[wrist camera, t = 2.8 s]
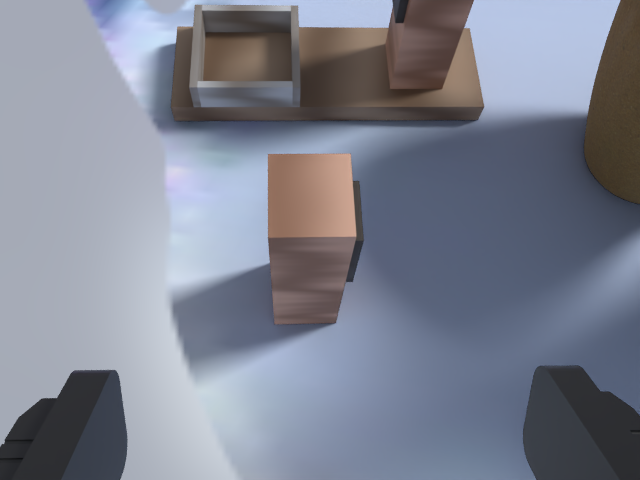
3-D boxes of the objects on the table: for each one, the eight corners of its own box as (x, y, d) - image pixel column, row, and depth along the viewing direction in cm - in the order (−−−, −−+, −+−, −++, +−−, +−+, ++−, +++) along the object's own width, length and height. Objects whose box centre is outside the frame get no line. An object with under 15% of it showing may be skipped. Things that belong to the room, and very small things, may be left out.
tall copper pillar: (340, 260, 37) (362, 153, 26) (344, 322, 35) (368, 236, 25) (274, 261, 37) (268, 154, 26) (274, 324, 35) (268, 237, 24)
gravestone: (464, 43, 45) (529, -135, 33) (477, 119, 42) (555, -44, 30) (180, 41, 44) (139, -143, 32) (174, 120, 41) (125, -49, 29)
